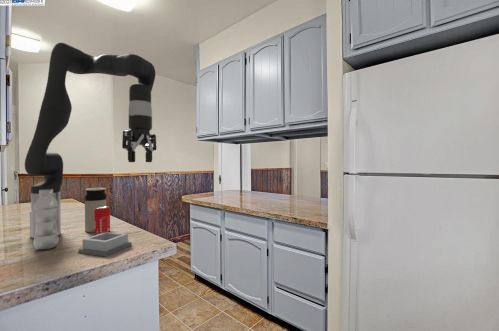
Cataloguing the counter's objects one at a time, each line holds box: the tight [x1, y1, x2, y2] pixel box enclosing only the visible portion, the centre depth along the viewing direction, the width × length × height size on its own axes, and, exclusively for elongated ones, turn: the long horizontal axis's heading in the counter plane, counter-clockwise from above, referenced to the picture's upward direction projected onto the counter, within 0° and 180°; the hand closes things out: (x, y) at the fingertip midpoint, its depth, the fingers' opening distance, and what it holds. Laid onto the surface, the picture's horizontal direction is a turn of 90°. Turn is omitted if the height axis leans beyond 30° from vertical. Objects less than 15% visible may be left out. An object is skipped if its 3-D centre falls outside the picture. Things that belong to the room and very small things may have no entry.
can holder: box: [78, 231, 132, 257], centre depth 86 cm, size 11×11×4 cm
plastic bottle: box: [33, 189, 60, 250], centre depth 86 cm, size 6×7×20 cm
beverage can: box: [94, 205, 111, 236], centre depth 97 cm, size 5×5×12 cm
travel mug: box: [84, 187, 107, 233], centre depth 110 cm, size 8×8×18 cm
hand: (140, 162), depth 89 cm, fingers open, 8 cm apart
